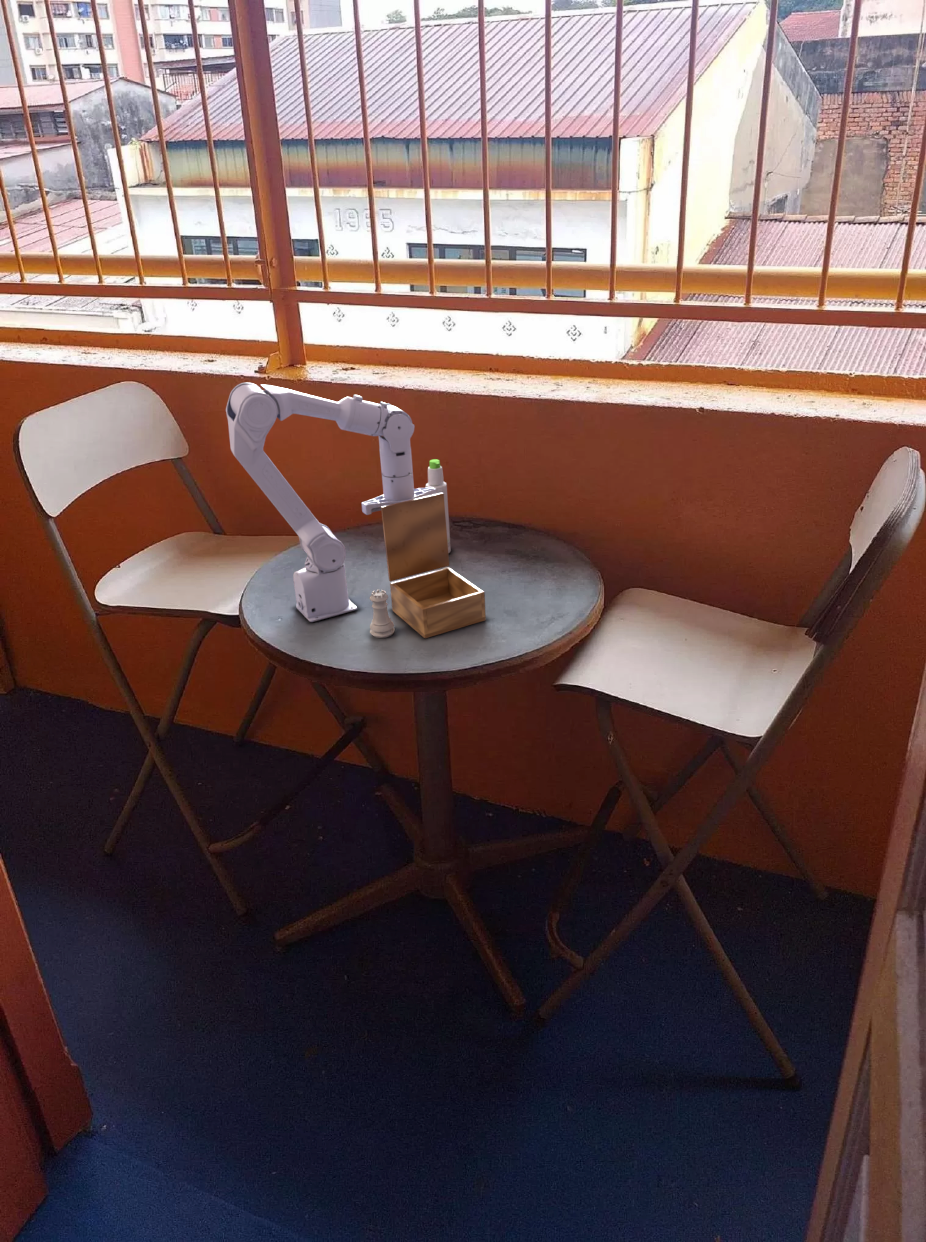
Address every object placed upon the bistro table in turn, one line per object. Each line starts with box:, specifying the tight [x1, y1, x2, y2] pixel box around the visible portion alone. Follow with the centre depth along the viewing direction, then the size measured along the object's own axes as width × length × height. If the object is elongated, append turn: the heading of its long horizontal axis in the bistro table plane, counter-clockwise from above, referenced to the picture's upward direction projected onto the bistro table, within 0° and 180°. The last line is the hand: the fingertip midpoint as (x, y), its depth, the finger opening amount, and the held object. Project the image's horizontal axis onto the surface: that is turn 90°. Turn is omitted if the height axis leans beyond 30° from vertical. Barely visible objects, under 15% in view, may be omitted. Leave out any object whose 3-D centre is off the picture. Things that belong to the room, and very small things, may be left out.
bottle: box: [425, 458, 452, 554], centre depth 192 cm, size 4×4×20 cm
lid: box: [380, 493, 450, 583], centre depth 169 cm, size 14×12×1 cm
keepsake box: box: [389, 566, 487, 639], centre depth 168 cm, size 13×12×6 cm
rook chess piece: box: [369, 589, 396, 639], centre depth 162 cm, size 4×4×8 cm
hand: (403, 541), depth 175 cm, fingers closed
